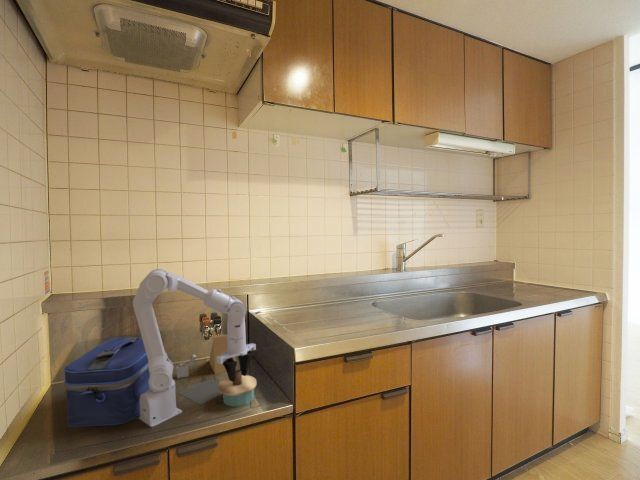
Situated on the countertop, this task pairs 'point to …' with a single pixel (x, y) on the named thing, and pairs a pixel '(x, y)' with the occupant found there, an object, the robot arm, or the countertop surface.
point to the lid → (237, 384)
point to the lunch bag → (107, 383)
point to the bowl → (238, 399)
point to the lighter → (185, 368)
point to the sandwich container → (218, 353)
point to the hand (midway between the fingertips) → (238, 377)
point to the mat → (202, 392)
